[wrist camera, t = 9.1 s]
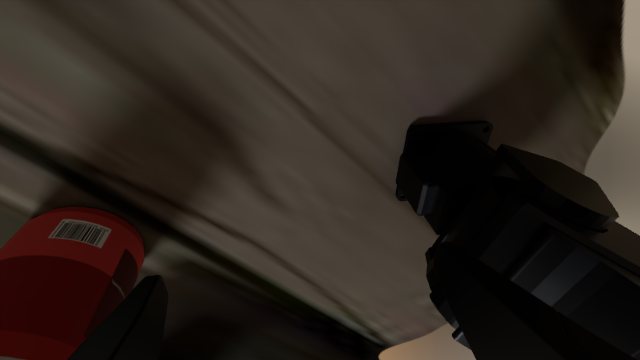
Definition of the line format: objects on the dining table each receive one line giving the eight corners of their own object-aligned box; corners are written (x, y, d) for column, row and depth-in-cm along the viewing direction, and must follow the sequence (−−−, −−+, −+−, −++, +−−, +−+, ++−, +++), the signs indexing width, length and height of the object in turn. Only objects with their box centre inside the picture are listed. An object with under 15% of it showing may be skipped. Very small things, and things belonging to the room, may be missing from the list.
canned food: (-5, 221, 21) (-205, 408, 12) (110, 189, 21) (-2, 350, 12) (71, 288, 25) (-33, 462, 16) (166, 261, 25) (115, 420, 16)
